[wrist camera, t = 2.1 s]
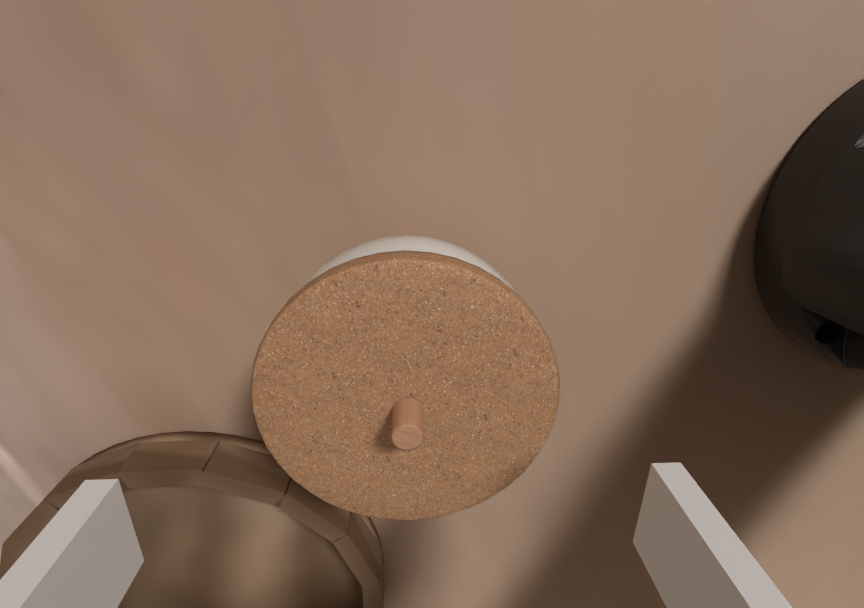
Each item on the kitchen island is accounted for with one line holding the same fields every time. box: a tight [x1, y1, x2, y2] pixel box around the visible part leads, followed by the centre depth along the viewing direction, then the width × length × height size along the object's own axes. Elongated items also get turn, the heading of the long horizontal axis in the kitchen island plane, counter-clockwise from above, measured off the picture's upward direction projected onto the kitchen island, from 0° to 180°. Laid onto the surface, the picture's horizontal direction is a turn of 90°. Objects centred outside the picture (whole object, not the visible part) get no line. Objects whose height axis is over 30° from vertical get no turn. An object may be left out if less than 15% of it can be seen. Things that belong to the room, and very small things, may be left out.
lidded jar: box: [251, 235, 560, 520], centre depth 19 cm, size 11×11×9 cm
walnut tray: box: [0, 431, 384, 608], centre depth 28 cm, size 21×21×3 cm
